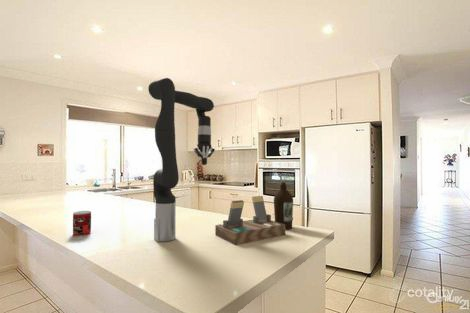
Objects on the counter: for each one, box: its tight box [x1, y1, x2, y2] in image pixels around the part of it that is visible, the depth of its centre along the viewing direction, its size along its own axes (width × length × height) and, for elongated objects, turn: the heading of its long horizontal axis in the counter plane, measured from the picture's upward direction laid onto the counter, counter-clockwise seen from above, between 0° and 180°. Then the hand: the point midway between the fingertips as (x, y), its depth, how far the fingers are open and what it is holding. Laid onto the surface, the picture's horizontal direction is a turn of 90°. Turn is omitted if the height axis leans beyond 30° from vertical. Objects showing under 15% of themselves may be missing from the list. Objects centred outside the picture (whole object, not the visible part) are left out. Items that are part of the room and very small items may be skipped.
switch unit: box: [214, 213, 286, 246], centre depth 131 cm, size 30×18×8 cm, turn 122°
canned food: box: [72, 210, 92, 237], centre depth 133 cm, size 8×8×11 cm
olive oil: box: [273, 181, 294, 231], centre depth 146 cm, size 11×11×25 cm
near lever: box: [227, 199, 245, 227], centre depth 126 cm, size 6×2×13 cm, turn 122°
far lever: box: [251, 195, 267, 222], centre depth 139 cm, size 6×2×13 cm, turn 122°
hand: (204, 164), depth 149 cm, fingers closed
